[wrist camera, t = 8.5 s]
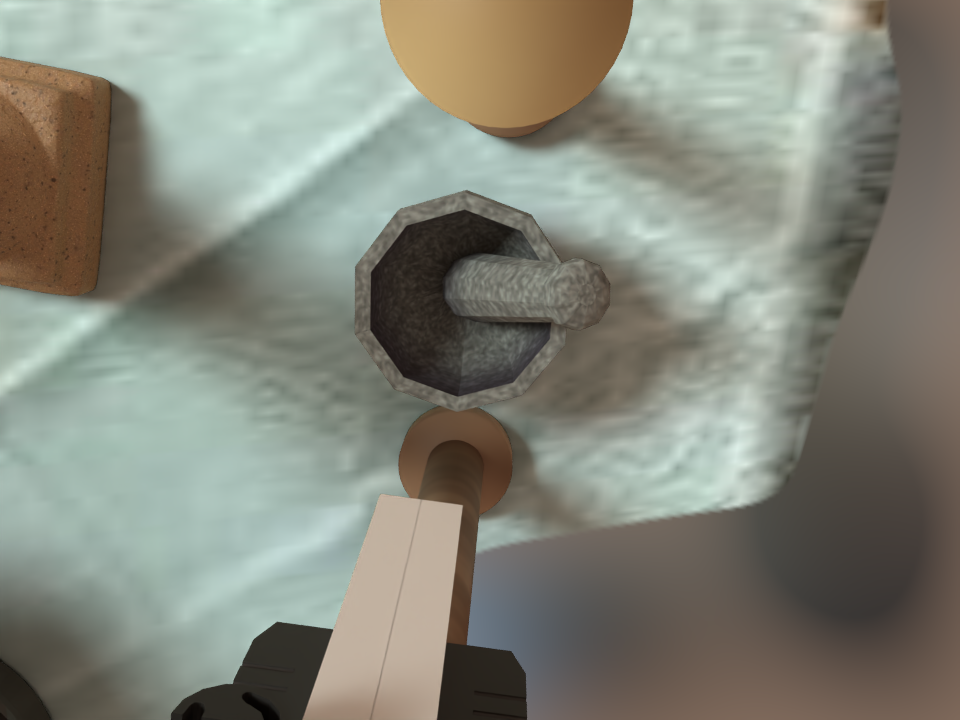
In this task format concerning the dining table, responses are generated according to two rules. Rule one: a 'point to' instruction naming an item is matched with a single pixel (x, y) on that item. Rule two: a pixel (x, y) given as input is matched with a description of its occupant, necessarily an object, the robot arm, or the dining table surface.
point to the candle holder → (52, 176)
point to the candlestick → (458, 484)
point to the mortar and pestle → (469, 300)
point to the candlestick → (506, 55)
